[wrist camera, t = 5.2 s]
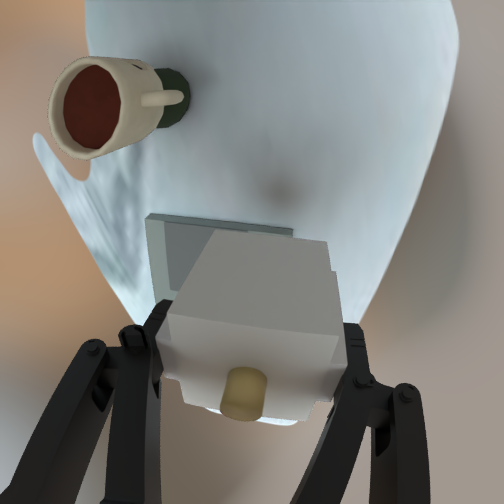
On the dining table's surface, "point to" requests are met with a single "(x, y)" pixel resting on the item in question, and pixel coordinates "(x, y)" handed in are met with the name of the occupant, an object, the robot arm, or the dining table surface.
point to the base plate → (185, 247)
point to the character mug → (112, 104)
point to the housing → (255, 326)
